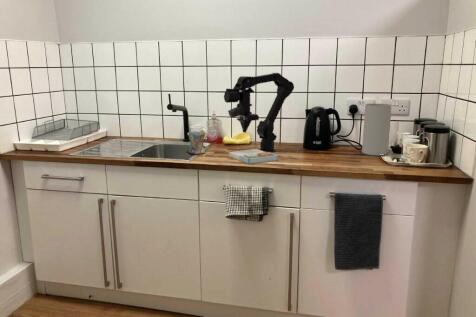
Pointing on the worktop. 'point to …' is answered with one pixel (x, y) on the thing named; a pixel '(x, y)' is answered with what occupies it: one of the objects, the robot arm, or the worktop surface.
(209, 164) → the worktop surface
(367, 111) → the cylinder vase
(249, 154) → the sage tile
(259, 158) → the tray
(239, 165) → the worktop surface
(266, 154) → the terracotta tile
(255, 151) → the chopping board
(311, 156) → the worktop surface
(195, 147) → the mug
